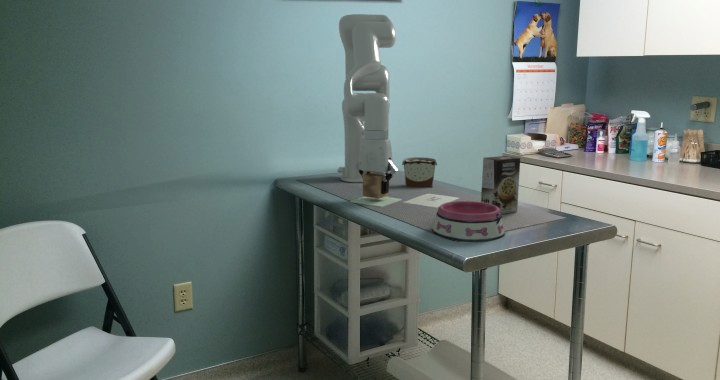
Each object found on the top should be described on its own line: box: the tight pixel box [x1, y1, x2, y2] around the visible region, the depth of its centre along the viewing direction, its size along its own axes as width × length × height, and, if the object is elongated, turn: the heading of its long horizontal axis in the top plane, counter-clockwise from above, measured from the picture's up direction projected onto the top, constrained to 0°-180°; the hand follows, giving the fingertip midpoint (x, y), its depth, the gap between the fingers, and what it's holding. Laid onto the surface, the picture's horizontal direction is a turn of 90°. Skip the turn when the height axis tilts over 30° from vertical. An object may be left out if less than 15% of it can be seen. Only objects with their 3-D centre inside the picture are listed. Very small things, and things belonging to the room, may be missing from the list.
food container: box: [401, 156, 438, 188], centre depth 209 cm, size 12×6×10 cm, turn 84°
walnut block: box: [362, 172, 390, 199], centre depth 185 cm, size 6×6×7 cm
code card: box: [402, 192, 460, 209], centre depth 187 cm, size 12×16×1 cm
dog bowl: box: [431, 200, 506, 243], centre depth 152 cm, size 18×19×7 cm
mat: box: [349, 196, 403, 208], centre depth 186 cm, size 12×12×1 cm
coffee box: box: [480, 155, 521, 215], centre depth 171 cm, size 9×6×16 cm
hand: (376, 191), depth 186 cm, fingers closed on walnut block, 5 cm apart
